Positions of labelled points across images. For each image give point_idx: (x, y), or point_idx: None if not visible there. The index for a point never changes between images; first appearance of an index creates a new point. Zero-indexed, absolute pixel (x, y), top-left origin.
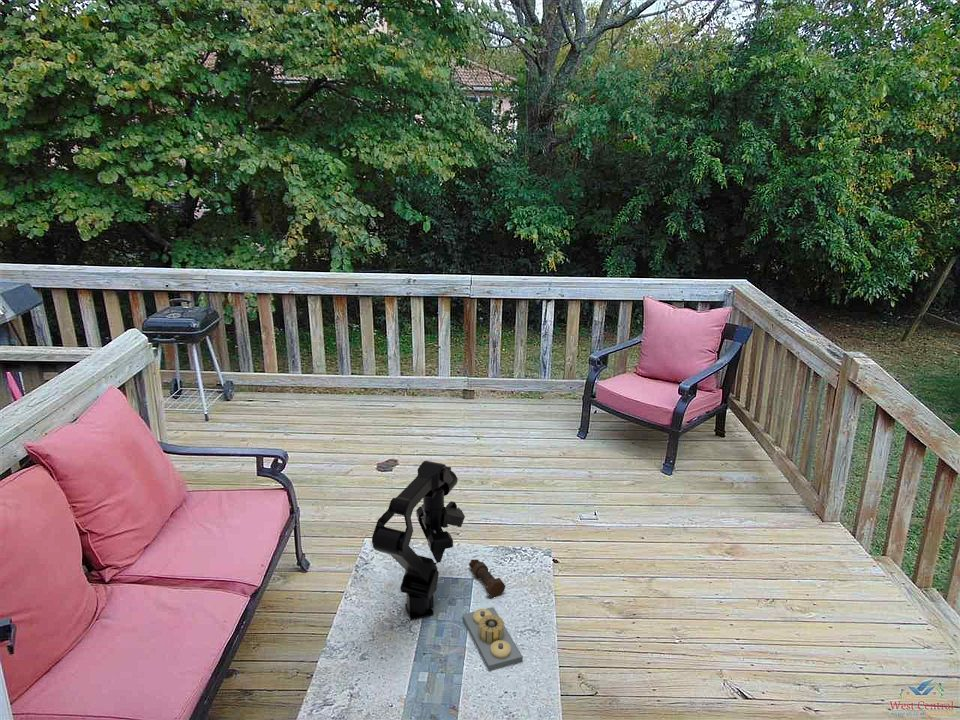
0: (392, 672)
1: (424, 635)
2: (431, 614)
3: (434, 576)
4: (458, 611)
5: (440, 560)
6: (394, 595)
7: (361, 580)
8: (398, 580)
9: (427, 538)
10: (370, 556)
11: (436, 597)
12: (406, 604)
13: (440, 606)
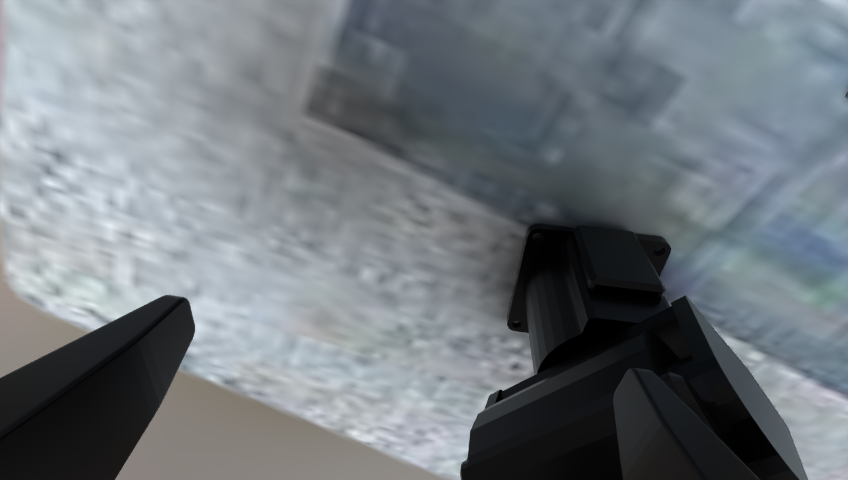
0: (840, 469)
1: (767, 326)
2: (666, 254)
3: (790, 456)
4: (754, 87)
5: (674, 400)
6: (410, 331)
7: (262, 392)
8: (300, 281)
9: (140, 426)
10: (86, 319)
11: (531, 163)
12: (511, 322)
13: (624, 175)
